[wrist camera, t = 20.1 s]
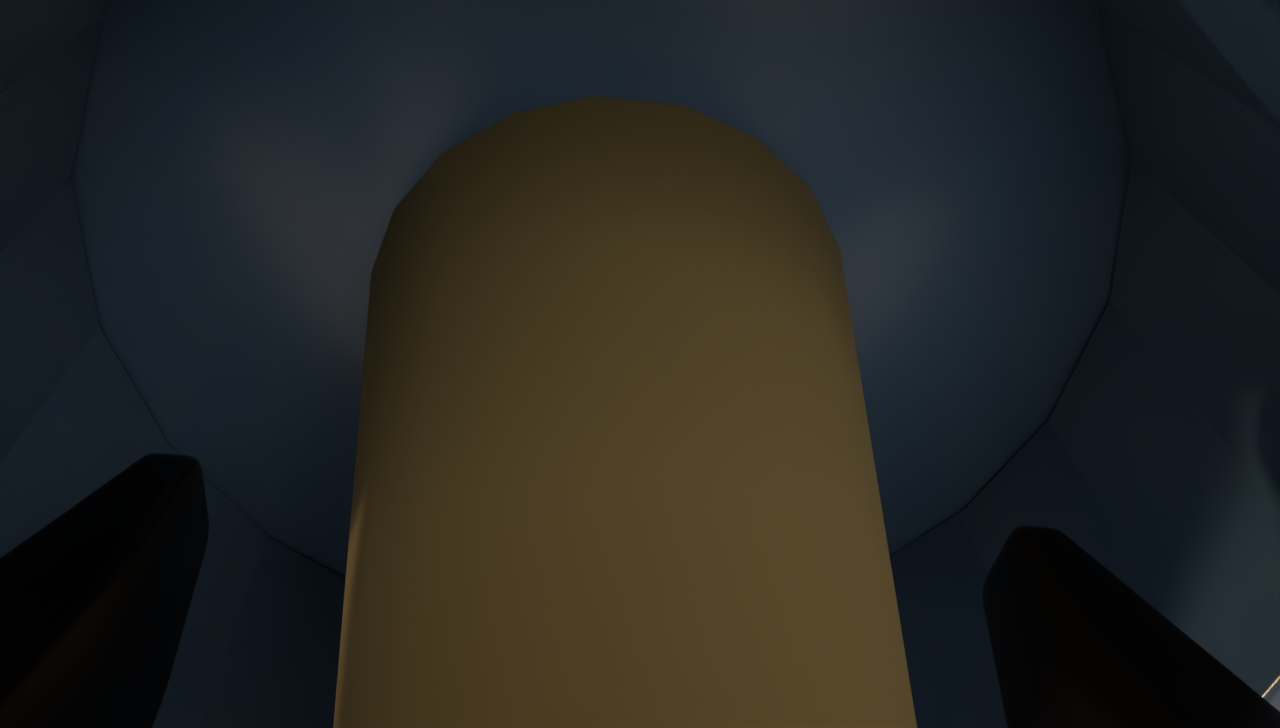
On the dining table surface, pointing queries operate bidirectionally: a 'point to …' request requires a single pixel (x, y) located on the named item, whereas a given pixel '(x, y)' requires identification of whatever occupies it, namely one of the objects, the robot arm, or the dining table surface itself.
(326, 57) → the basin
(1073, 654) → the robot arm
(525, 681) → the tan pawn
